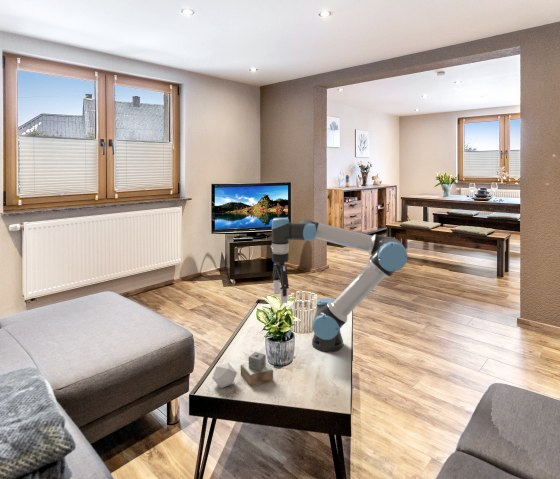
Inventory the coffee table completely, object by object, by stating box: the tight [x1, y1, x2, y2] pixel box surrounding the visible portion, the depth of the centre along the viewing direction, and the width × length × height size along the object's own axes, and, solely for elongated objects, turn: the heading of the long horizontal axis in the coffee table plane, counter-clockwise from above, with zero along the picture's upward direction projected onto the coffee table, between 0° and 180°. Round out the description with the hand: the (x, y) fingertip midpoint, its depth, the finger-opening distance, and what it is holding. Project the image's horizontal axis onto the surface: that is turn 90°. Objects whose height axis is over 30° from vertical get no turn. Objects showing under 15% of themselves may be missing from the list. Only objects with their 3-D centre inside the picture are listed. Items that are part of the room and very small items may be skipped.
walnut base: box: [240, 362, 274, 388], centre depth 163 cm, size 10×10×5 cm
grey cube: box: [248, 351, 267, 371], centre depth 162 cm, size 5×5×5 cm
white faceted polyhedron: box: [211, 362, 238, 389], centre depth 157 cm, size 8×9×10 cm
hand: (280, 298), depth 182 cm, fingers open, 13 cm apart
